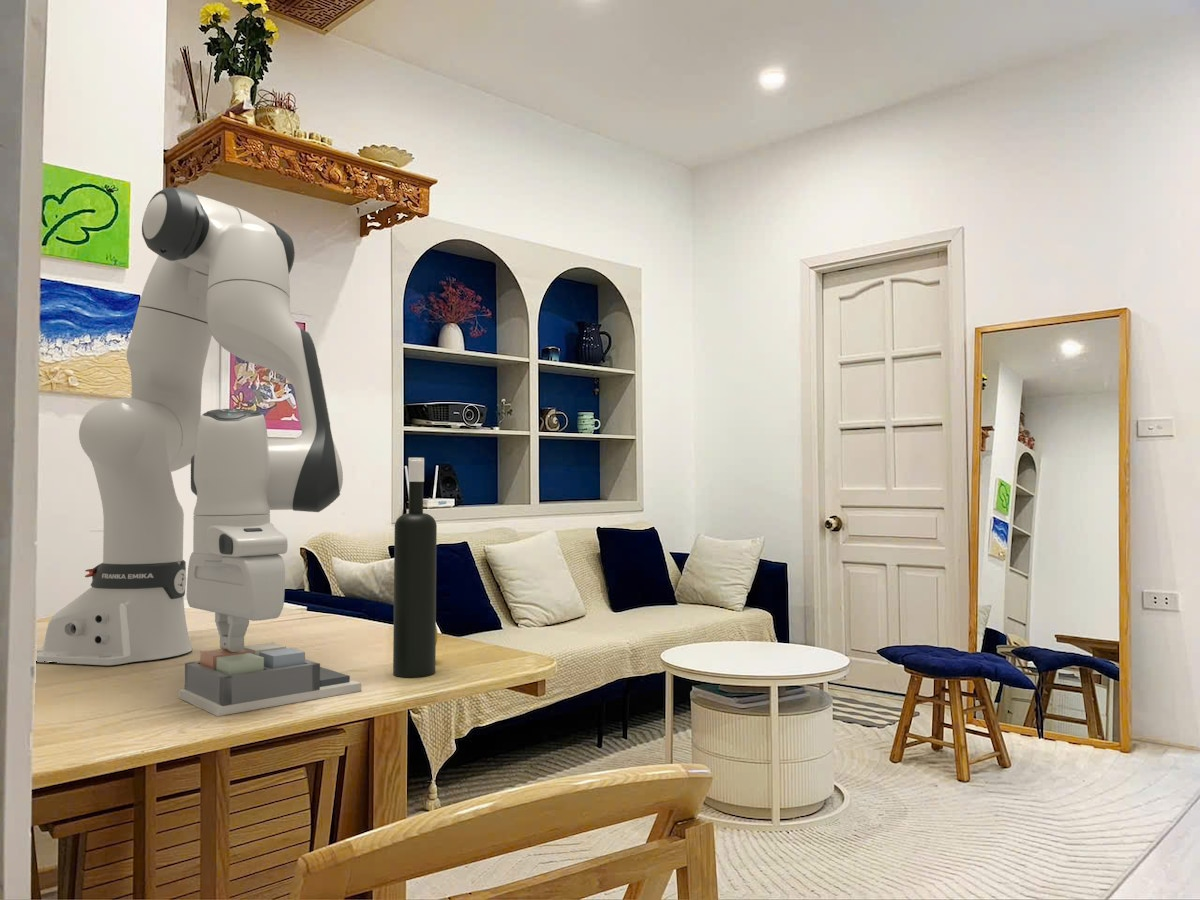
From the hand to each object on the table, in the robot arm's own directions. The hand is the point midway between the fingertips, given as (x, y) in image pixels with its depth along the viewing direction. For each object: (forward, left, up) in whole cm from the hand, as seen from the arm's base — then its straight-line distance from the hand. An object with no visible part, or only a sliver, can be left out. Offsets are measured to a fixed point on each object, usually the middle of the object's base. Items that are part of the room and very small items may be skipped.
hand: (231, 650), depth 111 cm
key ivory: (+3, +3, -2) cm, 5 cm away
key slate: (+6, 0, -2) cm, 7 cm away
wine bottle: (+19, +14, -6) cm, 25 cm away
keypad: (+4, +1, -6) cm, 7 cm away
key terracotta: (-1, 0, -2) cm, 3 cm away
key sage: (+3, -4, -2) cm, 5 cm away
